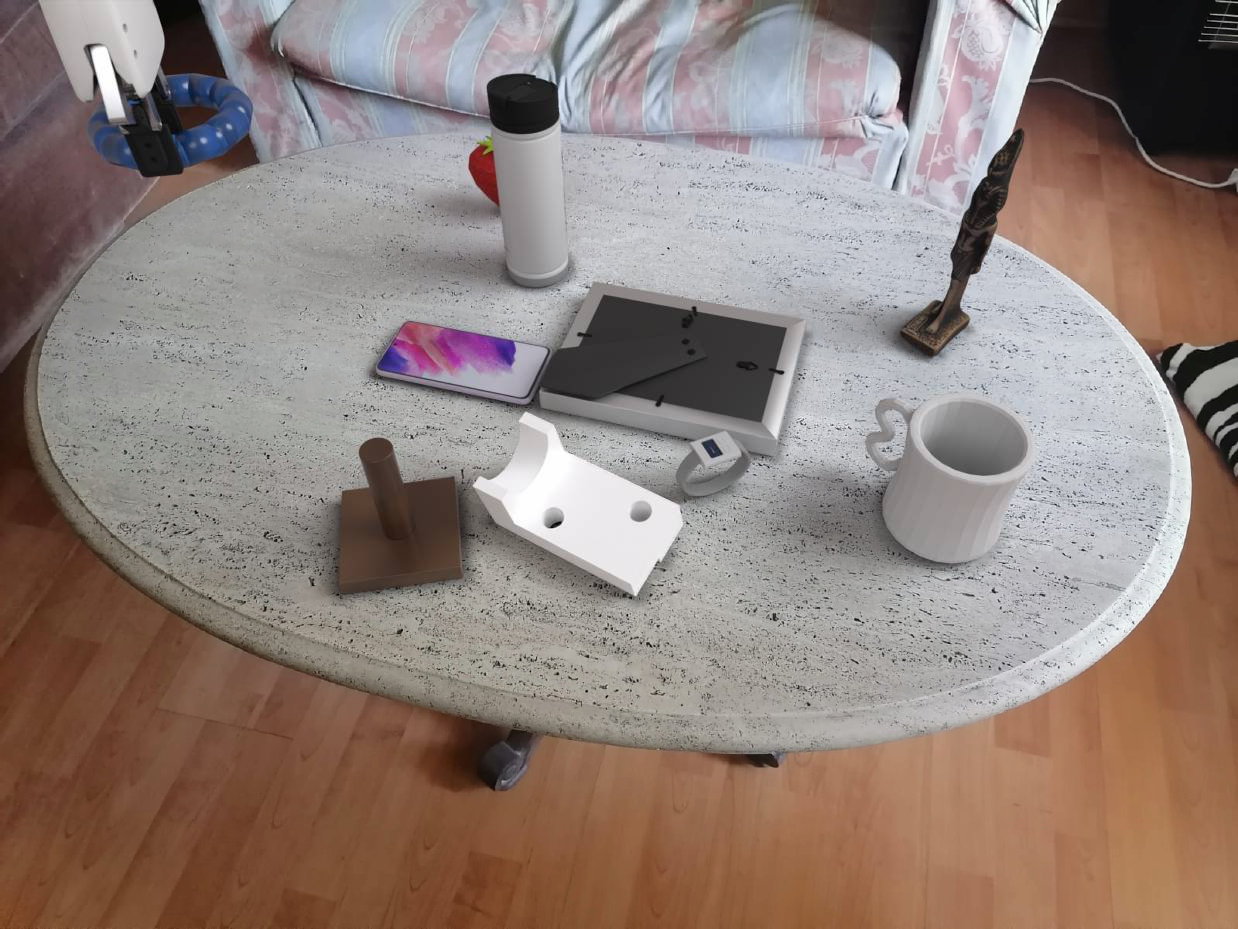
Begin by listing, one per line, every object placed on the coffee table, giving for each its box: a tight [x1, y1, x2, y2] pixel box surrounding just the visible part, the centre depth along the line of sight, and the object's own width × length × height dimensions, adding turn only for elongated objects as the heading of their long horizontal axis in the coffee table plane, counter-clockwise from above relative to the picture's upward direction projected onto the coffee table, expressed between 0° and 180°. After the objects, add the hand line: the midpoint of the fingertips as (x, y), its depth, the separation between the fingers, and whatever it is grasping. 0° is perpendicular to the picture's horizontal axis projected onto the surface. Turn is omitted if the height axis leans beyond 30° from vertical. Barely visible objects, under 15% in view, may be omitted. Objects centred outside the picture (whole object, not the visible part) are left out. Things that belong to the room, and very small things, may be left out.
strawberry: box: [467, 135, 500, 209], centre depth 100 cm, size 6×8×10 cm
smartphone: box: [375, 320, 553, 405], centre depth 87 cm, size 7×1×15 cm
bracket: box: [472, 411, 684, 597], centre depth 72 cm, size 13×7×8 cm, turn 58°
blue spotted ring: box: [85, 72, 254, 171], centre depth 79 cm, size 13×13×3 cm
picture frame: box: [538, 281, 808, 457], centre depth 86 cm, size 16×3×21 cm
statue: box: [899, 127, 1026, 357], centre depth 82 cm, size 4×7×20 cm, turn 137°
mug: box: [864, 392, 1038, 564], centre depth 72 cm, size 12×9×10 cm
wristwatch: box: [675, 431, 752, 497], centre depth 76 cm, size 6×3×5 cm, turn 114°
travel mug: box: [485, 72, 570, 288], centre depth 89 cm, size 6×7×20 cm
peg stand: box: [337, 436, 464, 595], centre depth 70 cm, size 9×9×10 cm
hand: (166, 159), depth 76 cm, fingers closed on blue spotted ring, 2 cm apart
